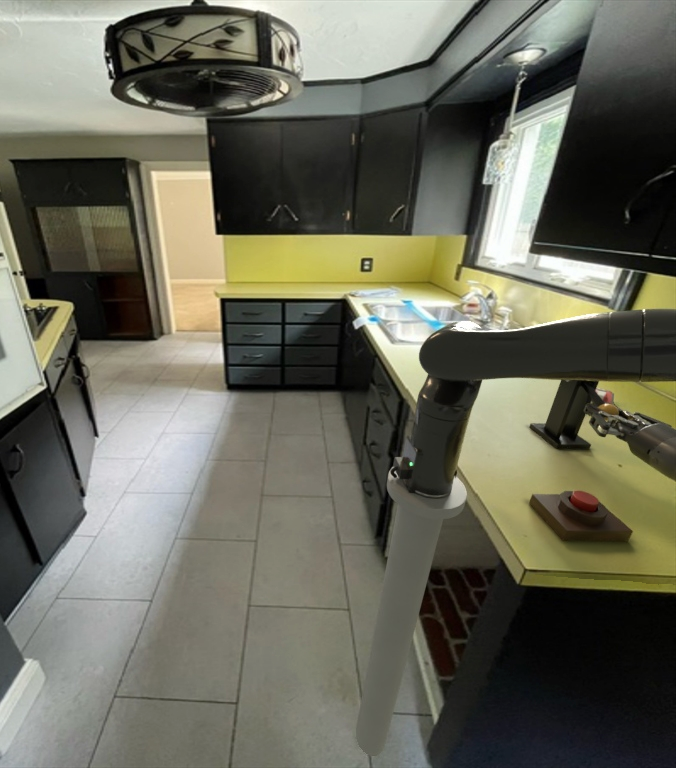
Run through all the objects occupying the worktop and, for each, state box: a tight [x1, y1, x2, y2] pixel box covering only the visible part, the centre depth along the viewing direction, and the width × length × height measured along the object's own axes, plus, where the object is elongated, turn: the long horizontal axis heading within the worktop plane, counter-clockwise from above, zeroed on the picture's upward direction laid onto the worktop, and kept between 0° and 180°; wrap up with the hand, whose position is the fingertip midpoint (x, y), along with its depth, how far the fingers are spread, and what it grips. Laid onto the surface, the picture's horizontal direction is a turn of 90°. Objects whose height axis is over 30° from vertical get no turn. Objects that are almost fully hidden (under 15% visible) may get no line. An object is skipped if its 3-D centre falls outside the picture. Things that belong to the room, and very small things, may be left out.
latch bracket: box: [529, 380, 600, 450], centre depth 87 cm, size 10×8×18 cm
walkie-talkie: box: [591, 387, 615, 407], centre depth 105 cm, size 9×4×20 cm
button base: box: [528, 490, 634, 542], centre depth 64 cm, size 11×9×4 cm
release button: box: [570, 490, 600, 512], centre depth 63 cm, size 4×4×2 cm
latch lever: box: [580, 380, 619, 422], centre depth 81 cm, size 13×4×4 cm, turn 0°
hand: (595, 407), depth 80 cm, fingers closed on latch lever, 3 cm apart
